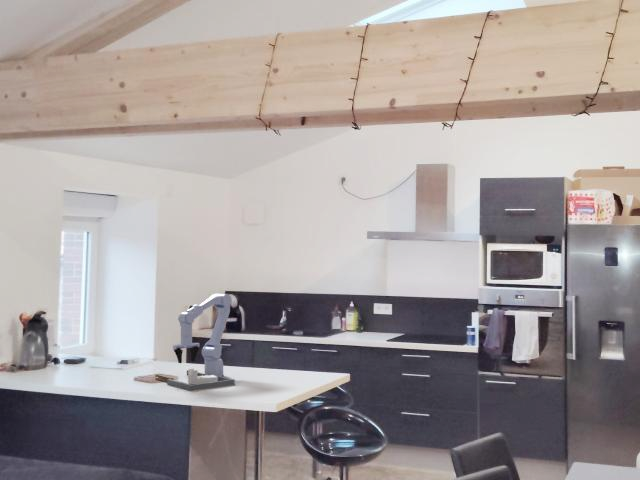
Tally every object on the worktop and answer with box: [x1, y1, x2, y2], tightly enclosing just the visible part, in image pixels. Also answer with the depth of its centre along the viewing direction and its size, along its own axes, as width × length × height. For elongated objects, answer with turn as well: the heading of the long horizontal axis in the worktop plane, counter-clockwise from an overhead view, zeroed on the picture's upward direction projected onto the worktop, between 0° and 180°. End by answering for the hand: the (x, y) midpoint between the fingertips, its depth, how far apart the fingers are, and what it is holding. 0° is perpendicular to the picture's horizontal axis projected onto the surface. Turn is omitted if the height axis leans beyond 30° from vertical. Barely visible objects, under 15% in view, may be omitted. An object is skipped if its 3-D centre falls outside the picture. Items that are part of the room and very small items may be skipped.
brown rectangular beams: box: [154, 369, 205, 383], centre depth 394 cm, size 20×16×2 cm
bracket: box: [187, 368, 218, 385], centre depth 382 cm, size 13×7×8 cm, turn 116°
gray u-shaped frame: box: [166, 374, 236, 392], centre depth 379 cm, size 25×22×2 cm
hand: (186, 362), depth 390 cm, fingers open, 7 cm apart
